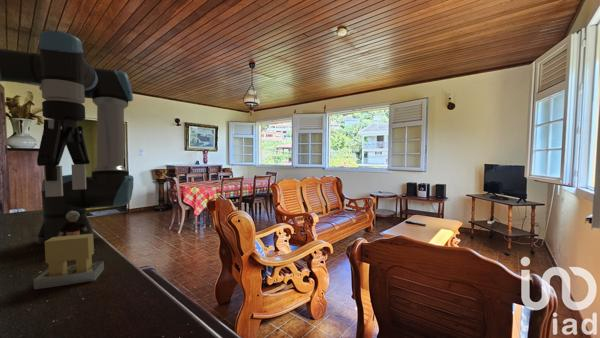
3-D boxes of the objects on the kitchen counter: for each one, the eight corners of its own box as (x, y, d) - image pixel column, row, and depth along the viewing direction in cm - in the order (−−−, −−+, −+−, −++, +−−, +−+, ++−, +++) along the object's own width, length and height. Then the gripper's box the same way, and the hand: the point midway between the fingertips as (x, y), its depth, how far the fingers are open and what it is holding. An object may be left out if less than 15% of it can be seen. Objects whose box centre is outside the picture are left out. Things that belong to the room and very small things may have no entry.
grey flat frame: (49, 276, 65) (49, 267, 65) (104, 269, 69) (103, 260, 69) (34, 289, 58) (33, 279, 58) (94, 280, 62) (94, 271, 62)
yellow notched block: (54, 278, 64) (52, 237, 63) (94, 272, 67) (93, 233, 66) (46, 284, 60) (44, 241, 60) (89, 278, 63) (87, 237, 63)
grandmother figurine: (66, 255, 79) (64, 213, 78) (56, 254, 80) (54, 213, 79) (91, 247, 86) (89, 208, 86) (81, 246, 87) (80, 208, 87)
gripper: (67, 110, 72) (70, 187, 73) (8, 87, 49) (14, 201, 50) (100, 111, 75) (103, 186, 76) (59, 91, 52) (64, 198, 53)
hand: (68, 192), depth 63 cm, fingers open, 13 cm apart
